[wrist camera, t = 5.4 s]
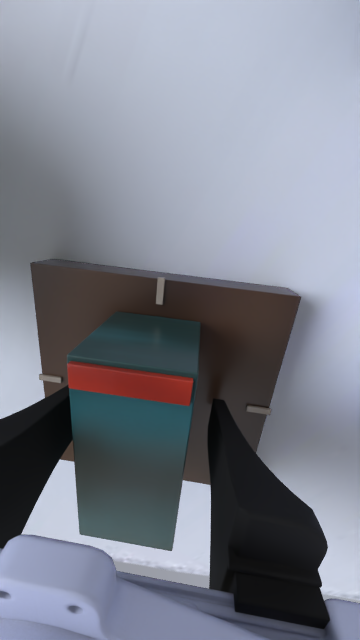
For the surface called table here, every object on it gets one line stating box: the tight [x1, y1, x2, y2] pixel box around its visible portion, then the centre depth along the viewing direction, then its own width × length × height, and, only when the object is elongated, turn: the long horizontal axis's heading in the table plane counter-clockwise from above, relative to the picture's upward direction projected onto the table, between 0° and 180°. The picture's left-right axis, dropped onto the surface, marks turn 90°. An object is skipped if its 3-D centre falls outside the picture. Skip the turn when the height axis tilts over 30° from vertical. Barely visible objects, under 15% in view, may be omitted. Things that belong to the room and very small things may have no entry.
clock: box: [30, 259, 301, 485], centre depth 15 cm, size 14×14×2 cm
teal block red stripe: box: [67, 311, 201, 551], centre depth 12 cm, size 10×5×5 cm, turn 174°
